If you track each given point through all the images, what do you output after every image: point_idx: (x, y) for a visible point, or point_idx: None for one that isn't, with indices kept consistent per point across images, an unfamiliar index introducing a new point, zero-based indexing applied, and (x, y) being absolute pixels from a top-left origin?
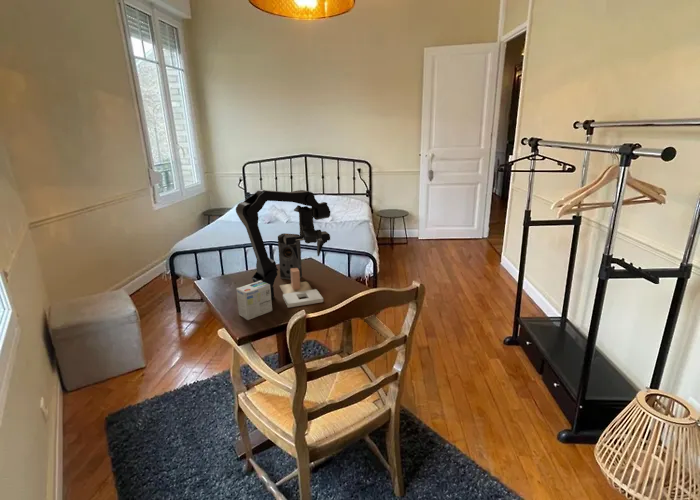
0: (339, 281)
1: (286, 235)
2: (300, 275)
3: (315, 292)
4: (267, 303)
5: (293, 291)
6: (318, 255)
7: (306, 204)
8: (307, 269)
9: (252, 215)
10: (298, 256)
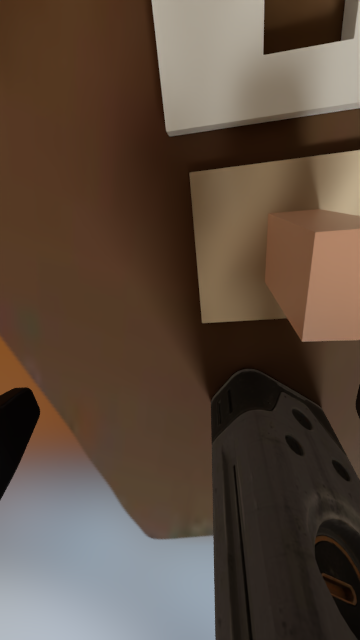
0: (18, 286)
1: None
2: (222, 394)
3: (182, 44)
4: None
5: (328, 177)
6: (14, 394)
7: None
8: (169, 463)
9: None
10: (246, 513)
